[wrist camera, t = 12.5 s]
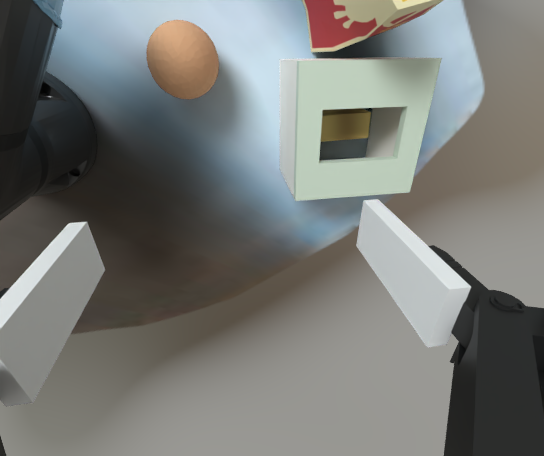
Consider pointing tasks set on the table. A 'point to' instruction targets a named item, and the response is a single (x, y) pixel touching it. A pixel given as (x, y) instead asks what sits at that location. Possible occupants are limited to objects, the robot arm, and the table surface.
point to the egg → (182, 59)
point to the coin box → (349, 95)
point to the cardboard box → (345, 124)
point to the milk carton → (357, 19)
